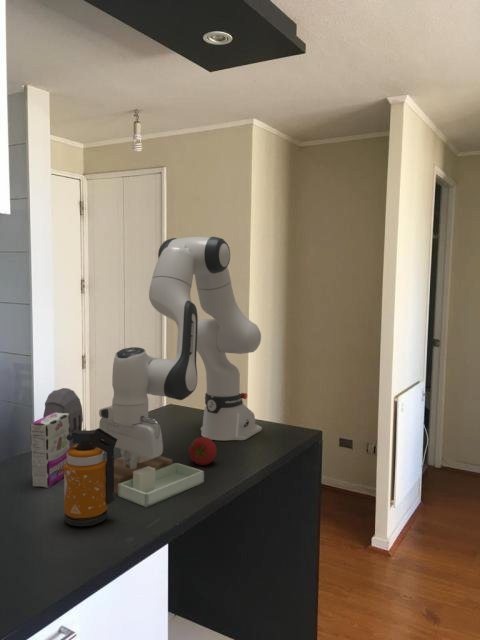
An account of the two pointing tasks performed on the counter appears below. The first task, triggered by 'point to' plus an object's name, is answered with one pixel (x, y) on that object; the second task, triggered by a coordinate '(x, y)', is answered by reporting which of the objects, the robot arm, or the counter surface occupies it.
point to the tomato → (202, 451)
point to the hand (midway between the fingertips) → (130, 467)
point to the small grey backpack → (66, 408)
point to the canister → (89, 477)
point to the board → (126, 473)
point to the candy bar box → (49, 449)
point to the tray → (163, 484)
